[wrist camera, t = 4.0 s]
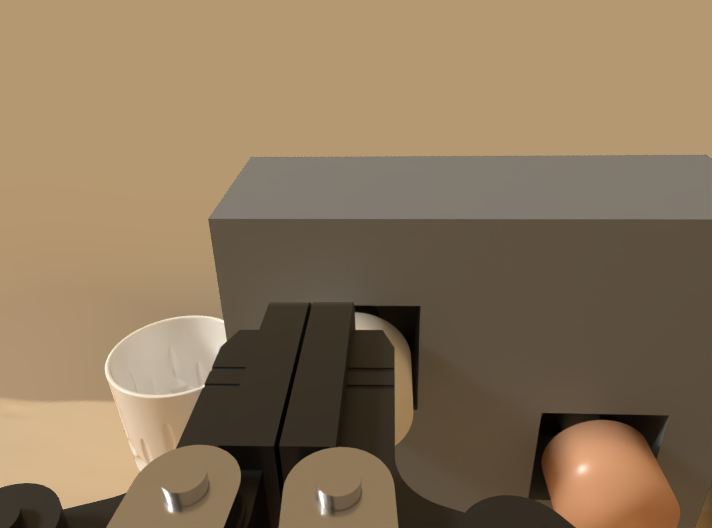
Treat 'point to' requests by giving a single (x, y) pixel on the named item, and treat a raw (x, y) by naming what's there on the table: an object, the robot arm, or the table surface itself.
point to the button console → (500, 298)
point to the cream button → (403, 371)
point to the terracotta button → (606, 476)
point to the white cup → (162, 380)
